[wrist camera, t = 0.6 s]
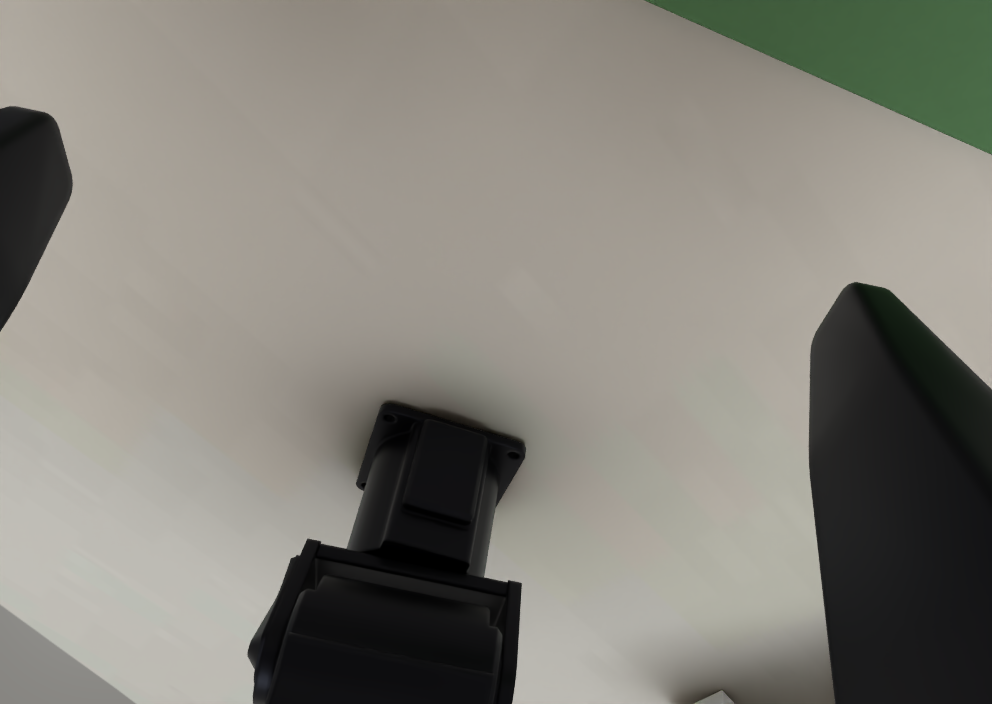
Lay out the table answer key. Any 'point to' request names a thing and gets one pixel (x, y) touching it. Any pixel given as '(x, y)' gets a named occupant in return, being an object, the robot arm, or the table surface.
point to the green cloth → (875, 51)
